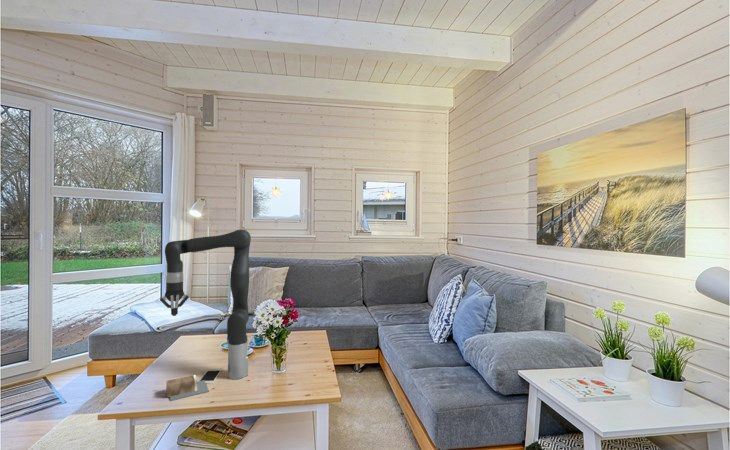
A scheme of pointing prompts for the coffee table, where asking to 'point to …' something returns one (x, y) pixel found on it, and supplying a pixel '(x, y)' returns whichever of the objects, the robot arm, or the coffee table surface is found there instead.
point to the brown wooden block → (181, 385)
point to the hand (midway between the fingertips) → (174, 315)
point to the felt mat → (200, 389)
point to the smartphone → (211, 376)
